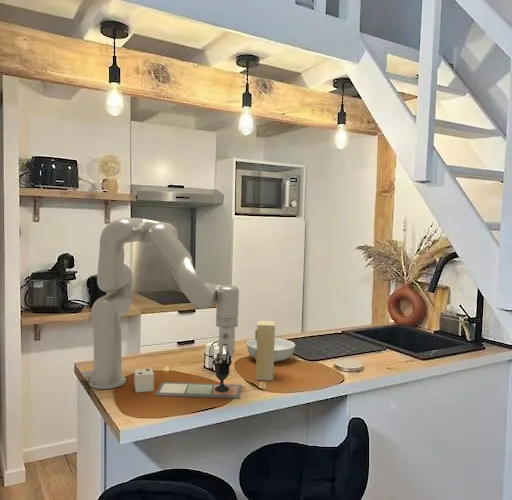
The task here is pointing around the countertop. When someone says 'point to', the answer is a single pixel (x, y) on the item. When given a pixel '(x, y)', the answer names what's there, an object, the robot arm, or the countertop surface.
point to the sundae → (220, 377)
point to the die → (143, 380)
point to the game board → (197, 390)
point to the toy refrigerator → (265, 350)
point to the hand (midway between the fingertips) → (225, 369)
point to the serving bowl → (275, 348)
